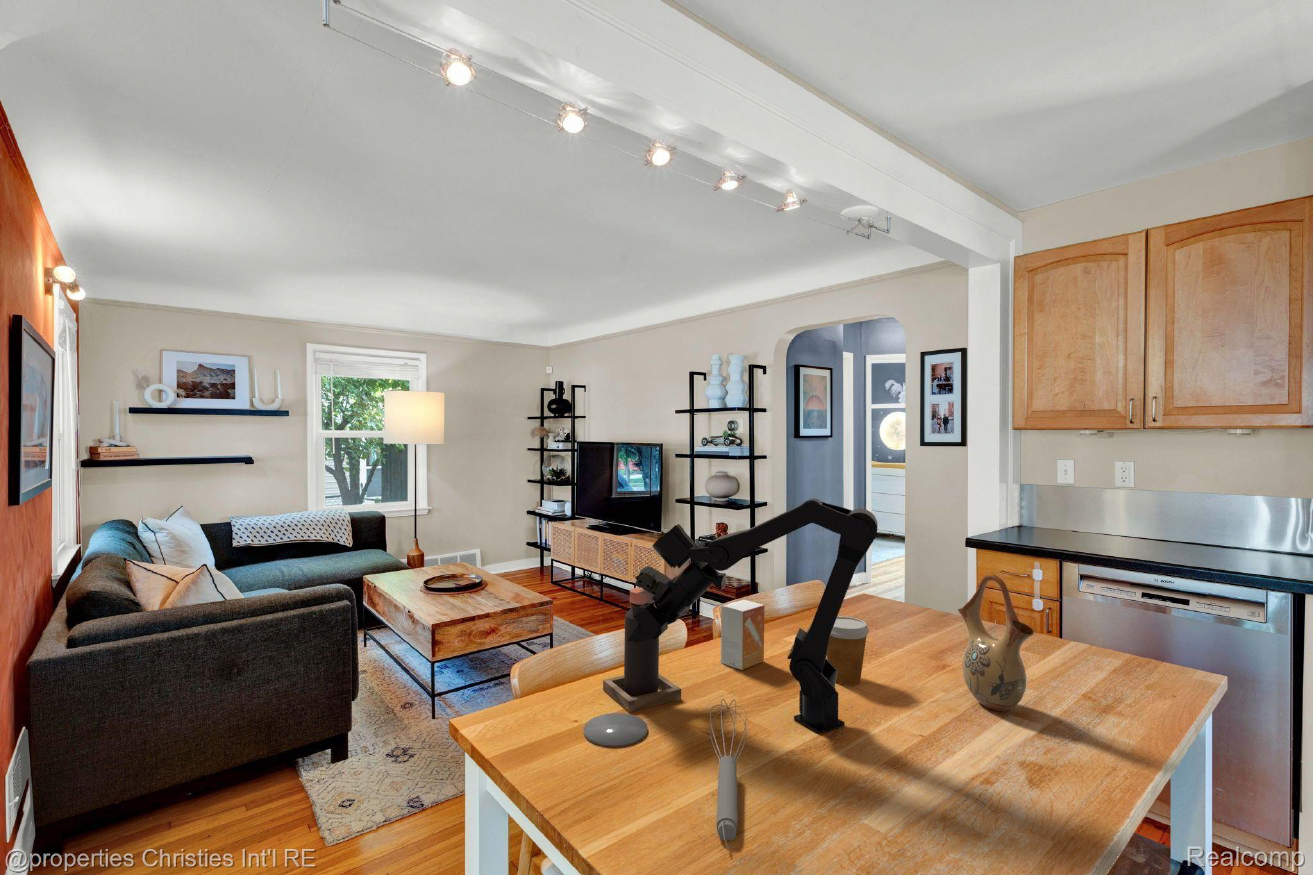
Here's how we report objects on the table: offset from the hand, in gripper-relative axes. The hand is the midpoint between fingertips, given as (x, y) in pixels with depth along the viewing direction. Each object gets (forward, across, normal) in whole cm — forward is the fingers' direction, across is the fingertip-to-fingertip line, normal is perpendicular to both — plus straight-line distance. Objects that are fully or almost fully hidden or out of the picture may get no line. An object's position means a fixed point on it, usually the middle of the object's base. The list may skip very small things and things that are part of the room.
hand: (635, 637), depth 123 cm
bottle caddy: (+7, 0, +9) cm, 11 cm away
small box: (-3, -24, +20) cm, 31 cm away
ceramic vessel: (-38, -19, +55) cm, 69 cm away
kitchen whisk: (-9, +22, +26) cm, 35 cm away
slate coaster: (+6, +16, +10) cm, 19 cm away
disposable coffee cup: (-19, -22, +35) cm, 46 cm away
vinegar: (+7, 0, +8) cm, 11 cm away
